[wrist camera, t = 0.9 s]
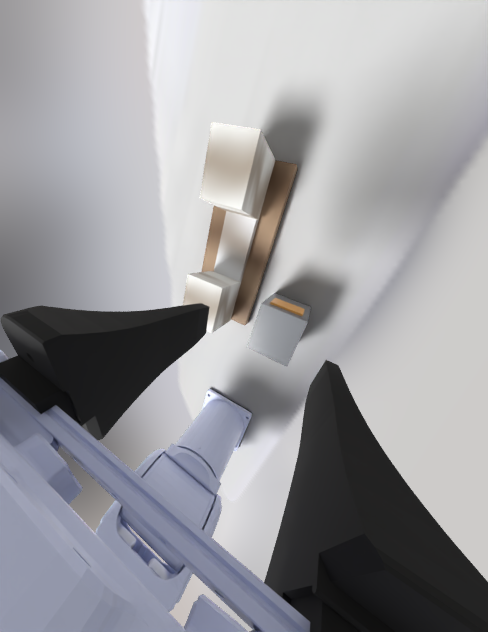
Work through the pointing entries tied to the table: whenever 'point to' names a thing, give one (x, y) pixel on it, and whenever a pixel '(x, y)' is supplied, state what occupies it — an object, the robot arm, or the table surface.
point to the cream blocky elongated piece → (238, 221)
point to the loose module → (279, 328)
